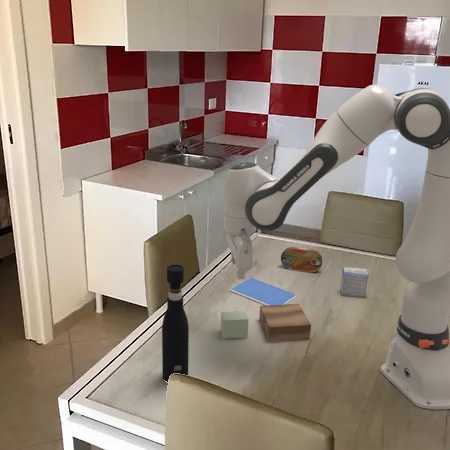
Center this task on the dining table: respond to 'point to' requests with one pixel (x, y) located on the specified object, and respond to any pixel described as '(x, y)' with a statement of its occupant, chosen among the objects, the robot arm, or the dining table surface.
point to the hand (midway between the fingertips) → (237, 270)
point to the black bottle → (175, 327)
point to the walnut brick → (284, 322)
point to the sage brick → (234, 324)
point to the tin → (301, 259)
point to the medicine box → (354, 282)
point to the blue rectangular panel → (263, 292)
